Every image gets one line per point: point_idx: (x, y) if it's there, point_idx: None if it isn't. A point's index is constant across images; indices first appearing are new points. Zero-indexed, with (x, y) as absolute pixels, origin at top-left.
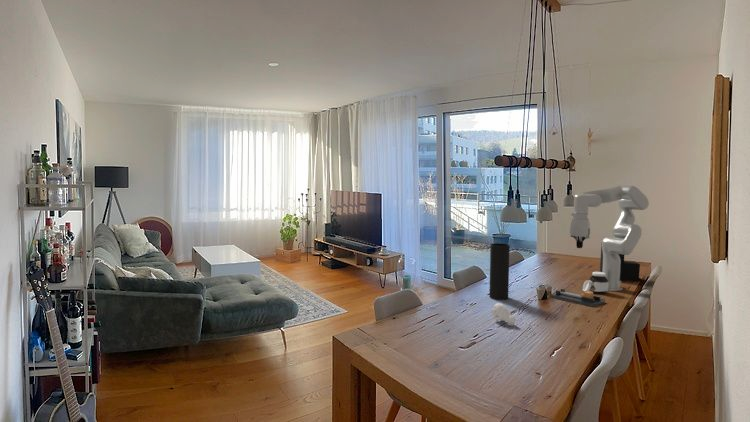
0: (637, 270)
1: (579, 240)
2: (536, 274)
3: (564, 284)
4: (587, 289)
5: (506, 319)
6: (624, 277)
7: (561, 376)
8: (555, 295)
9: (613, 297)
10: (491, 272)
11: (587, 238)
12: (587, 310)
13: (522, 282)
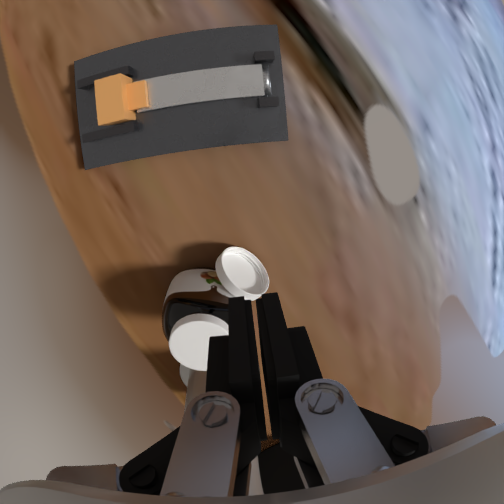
0: None
1: (280, 431)
2: (476, 318)
3: (366, 287)
4: (225, 249)
5: None
6: (258, 460)
7: None
8: (254, 31)
9: (125, 269)
10: None
11: (69, 468)
12: (72, 16)
13: (476, 174)
